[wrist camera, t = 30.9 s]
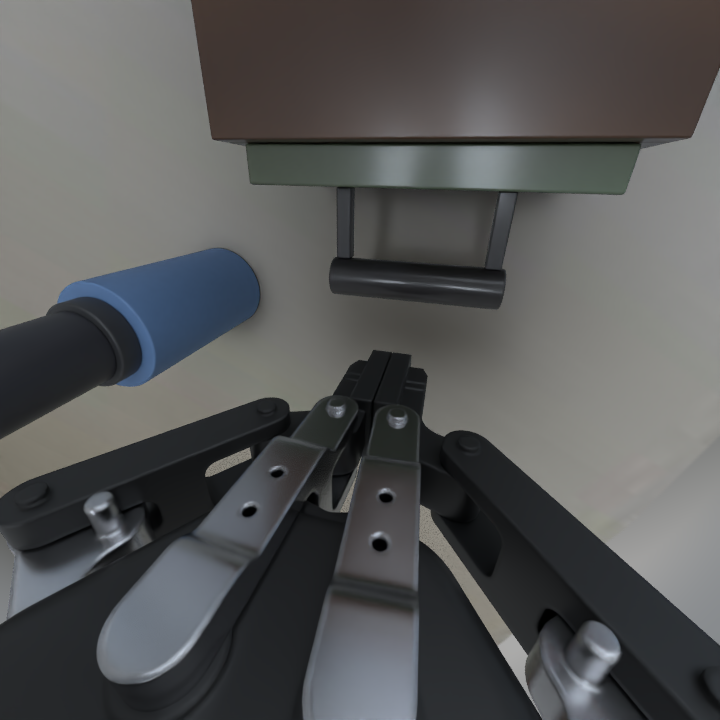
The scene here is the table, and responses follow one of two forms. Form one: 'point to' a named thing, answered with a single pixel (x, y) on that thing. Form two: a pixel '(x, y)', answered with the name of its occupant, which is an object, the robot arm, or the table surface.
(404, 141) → the cabinet
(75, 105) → the table surface
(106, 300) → the black and blue cylinder
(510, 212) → the drawer
